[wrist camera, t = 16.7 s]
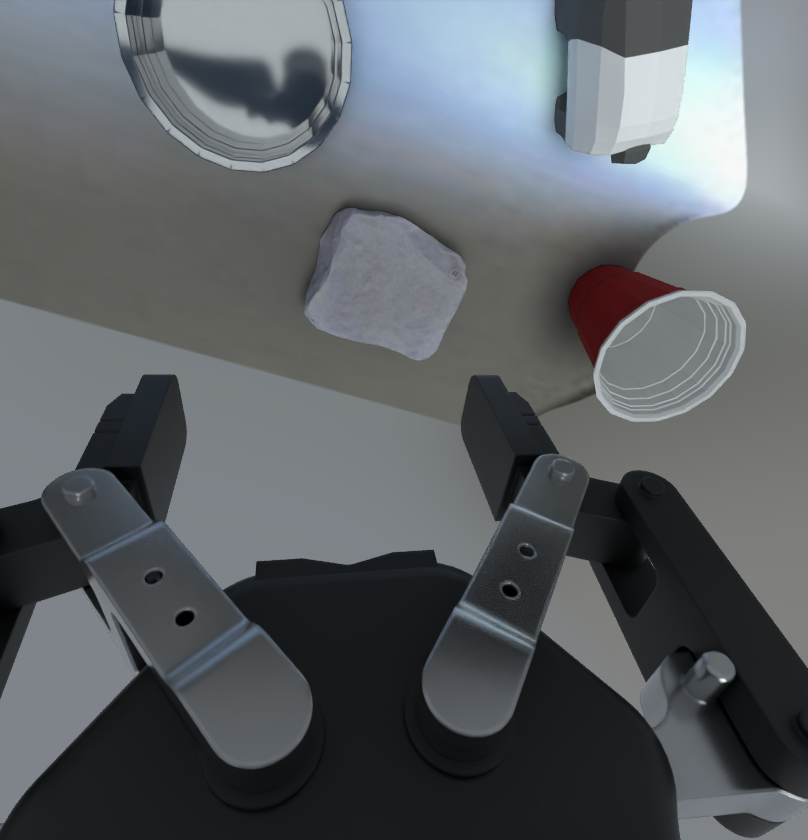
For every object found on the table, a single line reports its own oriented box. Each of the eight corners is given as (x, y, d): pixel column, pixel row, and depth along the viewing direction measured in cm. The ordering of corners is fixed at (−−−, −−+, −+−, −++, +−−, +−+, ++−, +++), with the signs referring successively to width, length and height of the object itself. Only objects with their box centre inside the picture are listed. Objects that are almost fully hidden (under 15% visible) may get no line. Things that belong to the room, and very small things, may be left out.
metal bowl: (156, 148, 34) (140, 162, 30) (114, -114, 27) (86, -134, 23) (342, 164, 36) (347, 179, 33) (350, -73, 29) (357, -86, 25)
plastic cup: (568, 221, 41) (647, 280, 32) (678, 246, 44) (780, 306, 35) (519, 340, 47) (573, 418, 38) (618, 355, 50) (691, 431, 41)
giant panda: (620, 137, 38) (698, 165, 31) (547, 153, 38) (608, 185, 30) (647, -152, 29) (768, -212, 21) (552, -132, 29) (640, -187, 21)
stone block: (332, 189, 39) (295, 314, 42) (342, 193, 34) (301, 331, 38) (466, 242, 43) (423, 351, 47) (490, 252, 39) (440, 371, 43)
